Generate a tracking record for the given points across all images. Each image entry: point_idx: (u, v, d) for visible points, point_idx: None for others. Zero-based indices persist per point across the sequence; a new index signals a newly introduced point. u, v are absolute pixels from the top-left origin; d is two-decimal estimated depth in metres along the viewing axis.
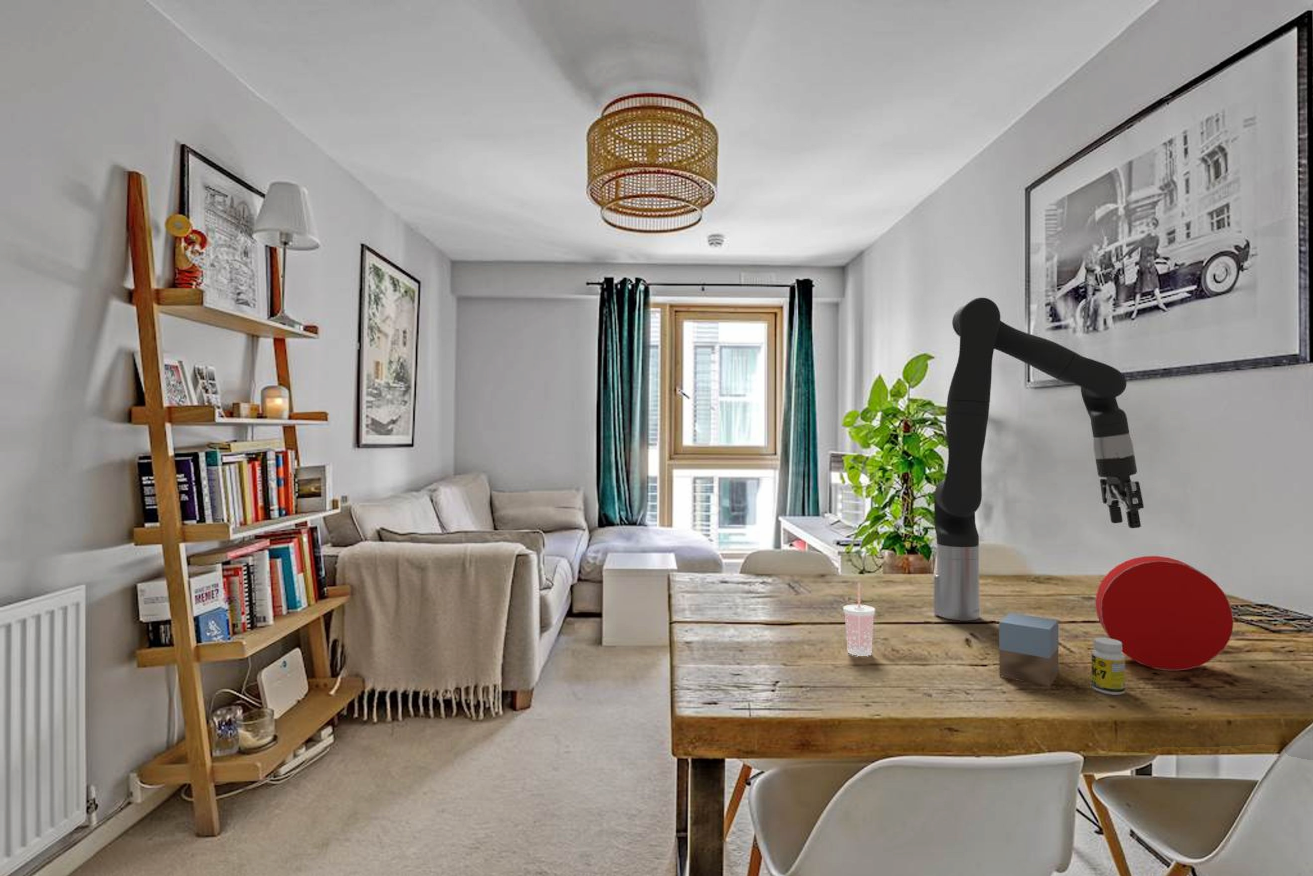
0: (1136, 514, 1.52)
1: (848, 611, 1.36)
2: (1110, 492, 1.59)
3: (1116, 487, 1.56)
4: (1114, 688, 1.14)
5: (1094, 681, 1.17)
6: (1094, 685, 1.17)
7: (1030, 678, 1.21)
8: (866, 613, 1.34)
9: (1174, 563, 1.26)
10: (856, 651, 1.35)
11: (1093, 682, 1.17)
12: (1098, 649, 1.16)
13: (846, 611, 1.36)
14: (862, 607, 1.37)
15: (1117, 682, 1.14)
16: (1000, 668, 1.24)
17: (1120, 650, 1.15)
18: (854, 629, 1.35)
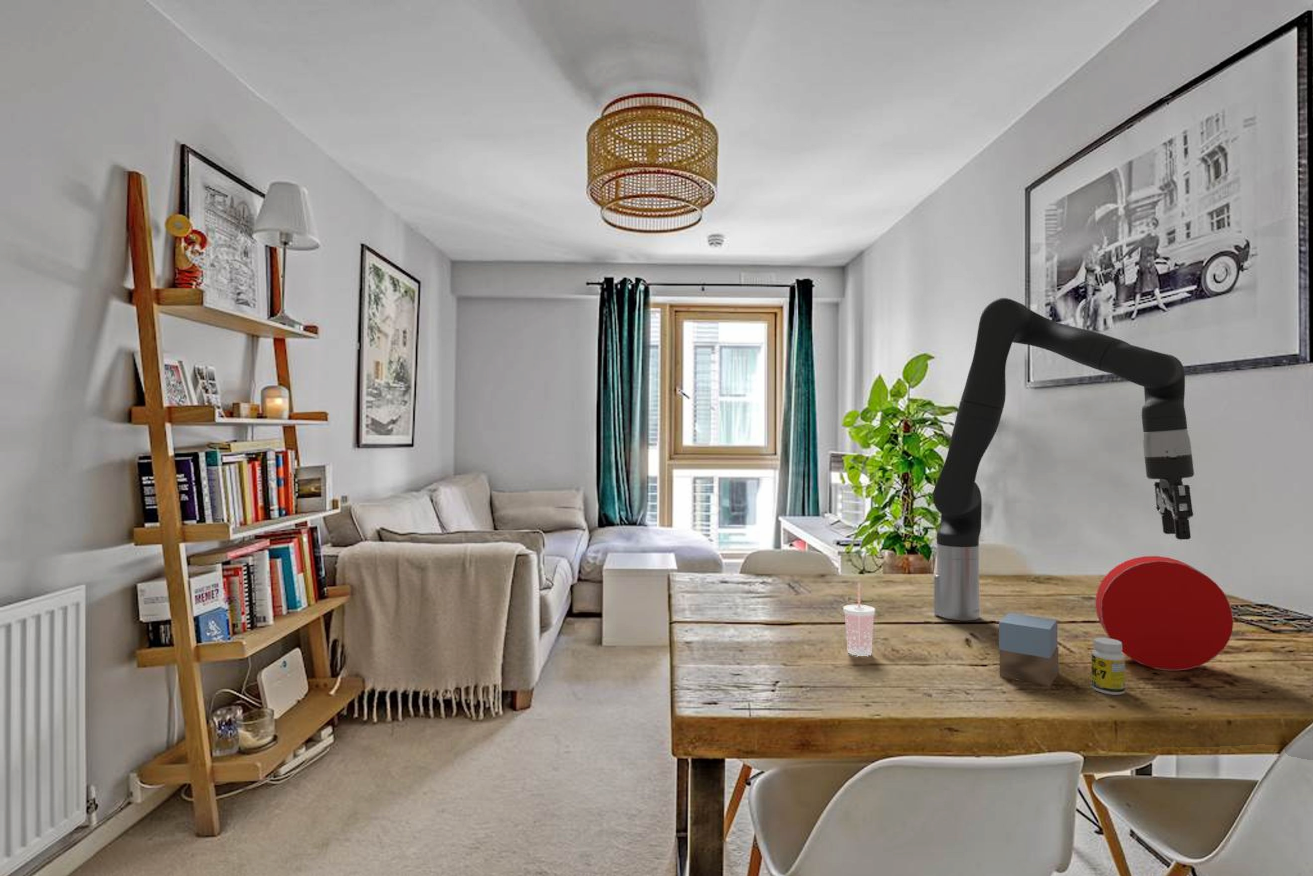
0: (1185, 523, 1.30)
1: (848, 611, 1.36)
2: (1161, 497, 1.37)
3: (1165, 490, 1.34)
4: (1114, 688, 1.14)
5: (1094, 681, 1.17)
6: (1094, 685, 1.17)
7: (1031, 678, 1.21)
8: (866, 613, 1.34)
9: (1174, 563, 1.26)
10: (856, 651, 1.35)
11: (1093, 682, 1.17)
12: (1098, 649, 1.16)
13: (846, 611, 1.36)
14: (862, 607, 1.37)
15: (1117, 682, 1.14)
16: (1000, 668, 1.24)
17: (1120, 650, 1.15)
18: (854, 629, 1.35)
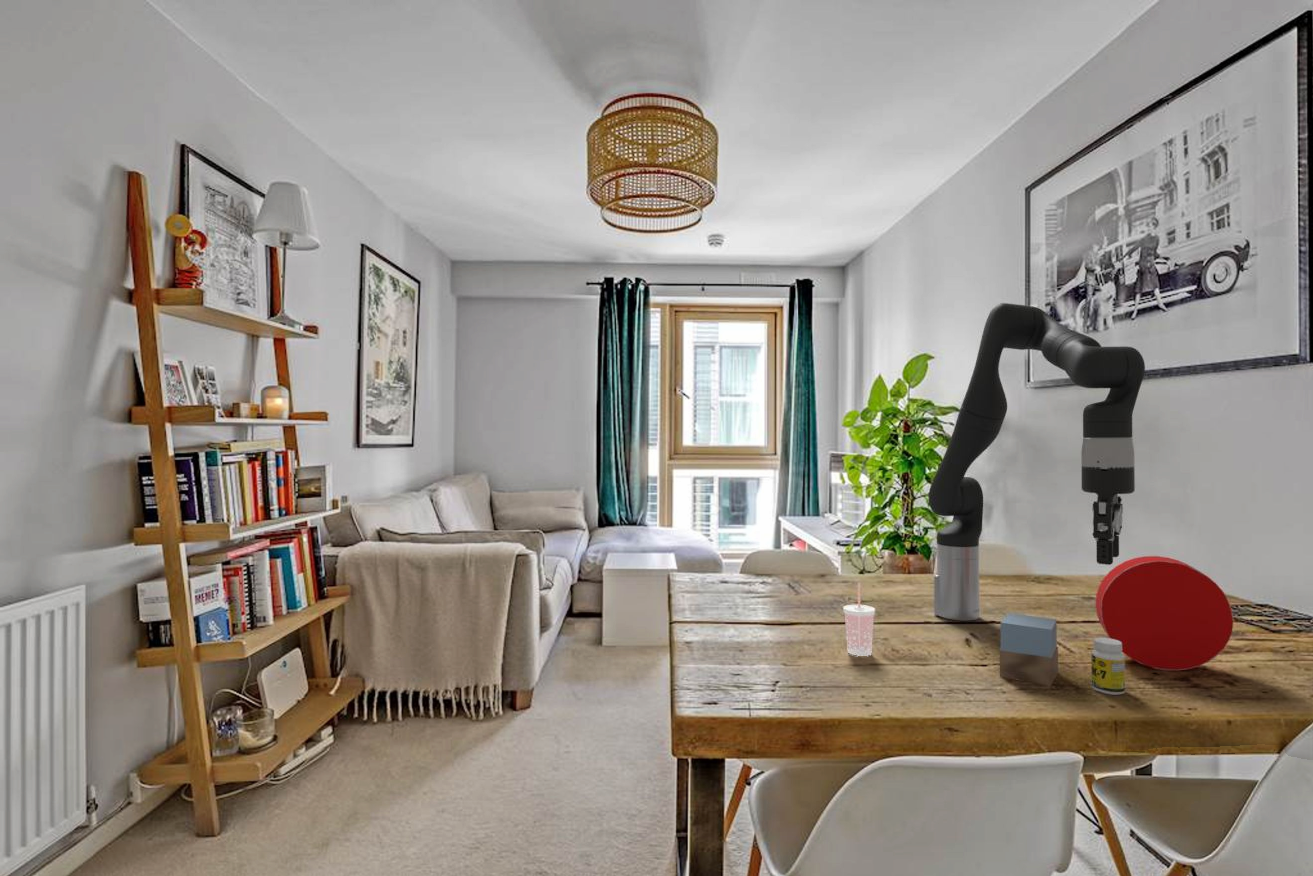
0: (1106, 546, 1.12)
1: (848, 611, 1.36)
2: None
3: None
4: (1114, 688, 1.14)
5: (1094, 681, 1.17)
6: (1094, 685, 1.17)
7: (1031, 678, 1.21)
8: (866, 613, 1.34)
9: (1174, 563, 1.26)
10: (856, 651, 1.35)
11: (1093, 682, 1.17)
12: (1098, 649, 1.16)
13: (846, 611, 1.36)
14: (862, 607, 1.37)
15: (1117, 682, 1.14)
16: (1000, 668, 1.24)
17: (1120, 650, 1.15)
18: (854, 629, 1.35)
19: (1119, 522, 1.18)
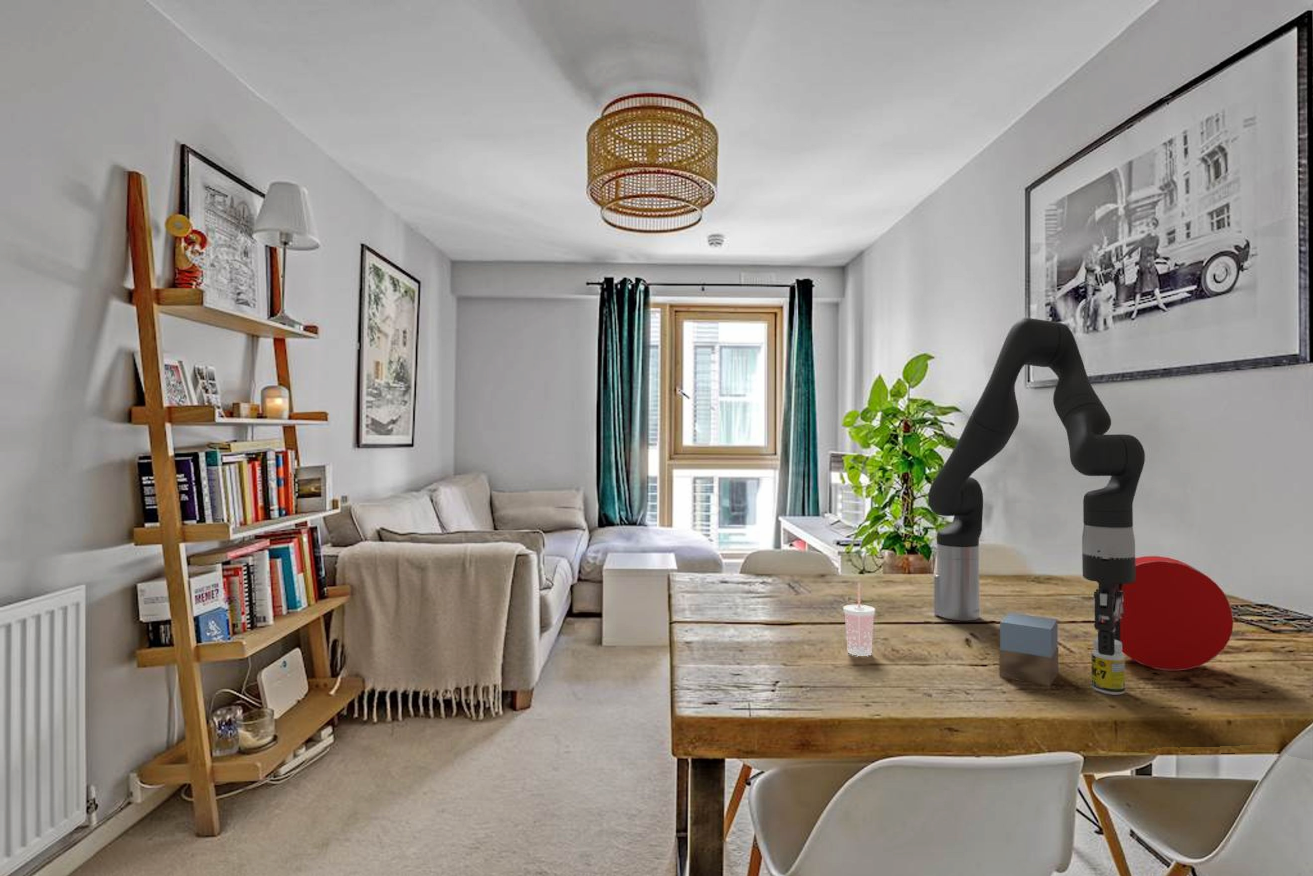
0: (1107, 637, 1.12)
1: (848, 611, 1.36)
2: None
3: None
4: (1114, 688, 1.14)
5: (1094, 681, 1.17)
6: (1094, 685, 1.17)
7: (1030, 678, 1.21)
8: (866, 613, 1.34)
9: (1174, 563, 1.26)
10: (856, 651, 1.35)
11: (1093, 682, 1.17)
12: None
13: (846, 611, 1.36)
14: (862, 607, 1.37)
15: (1117, 682, 1.14)
16: (1000, 668, 1.24)
17: (1120, 650, 1.15)
18: (854, 629, 1.35)
19: (1120, 609, 1.18)
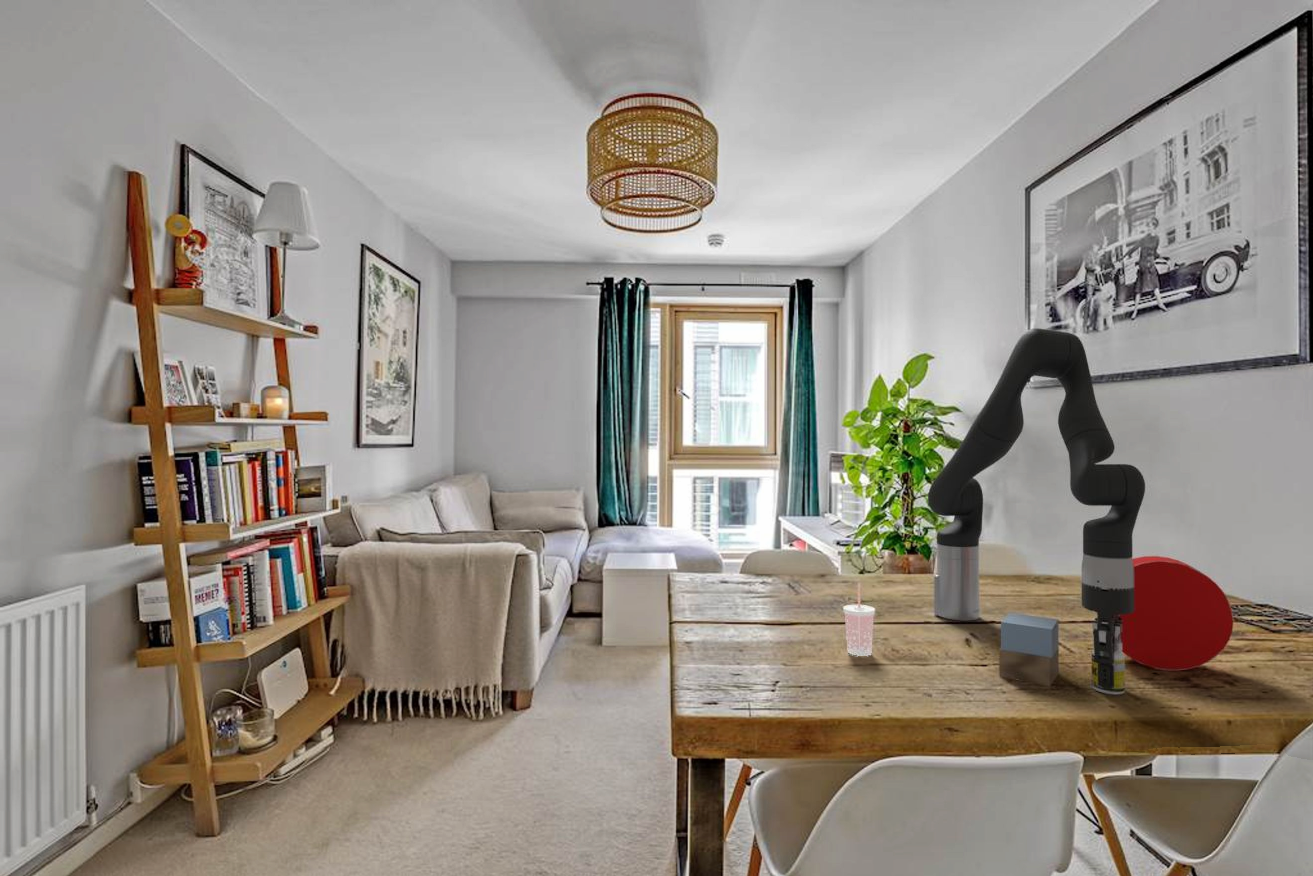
0: (1107, 670, 1.14)
1: (848, 611, 1.36)
2: None
3: (1096, 625, 1.16)
4: (1114, 688, 1.14)
5: (1094, 680, 1.17)
6: (1094, 685, 1.17)
7: (1030, 678, 1.21)
8: (866, 613, 1.34)
9: (1174, 563, 1.26)
10: (856, 651, 1.35)
11: (1093, 682, 1.17)
12: None
13: (846, 611, 1.36)
14: (862, 607, 1.37)
15: (1117, 681, 1.14)
16: (1000, 668, 1.24)
17: (1120, 650, 1.15)
18: (854, 629, 1.35)
19: (1118, 641, 1.17)
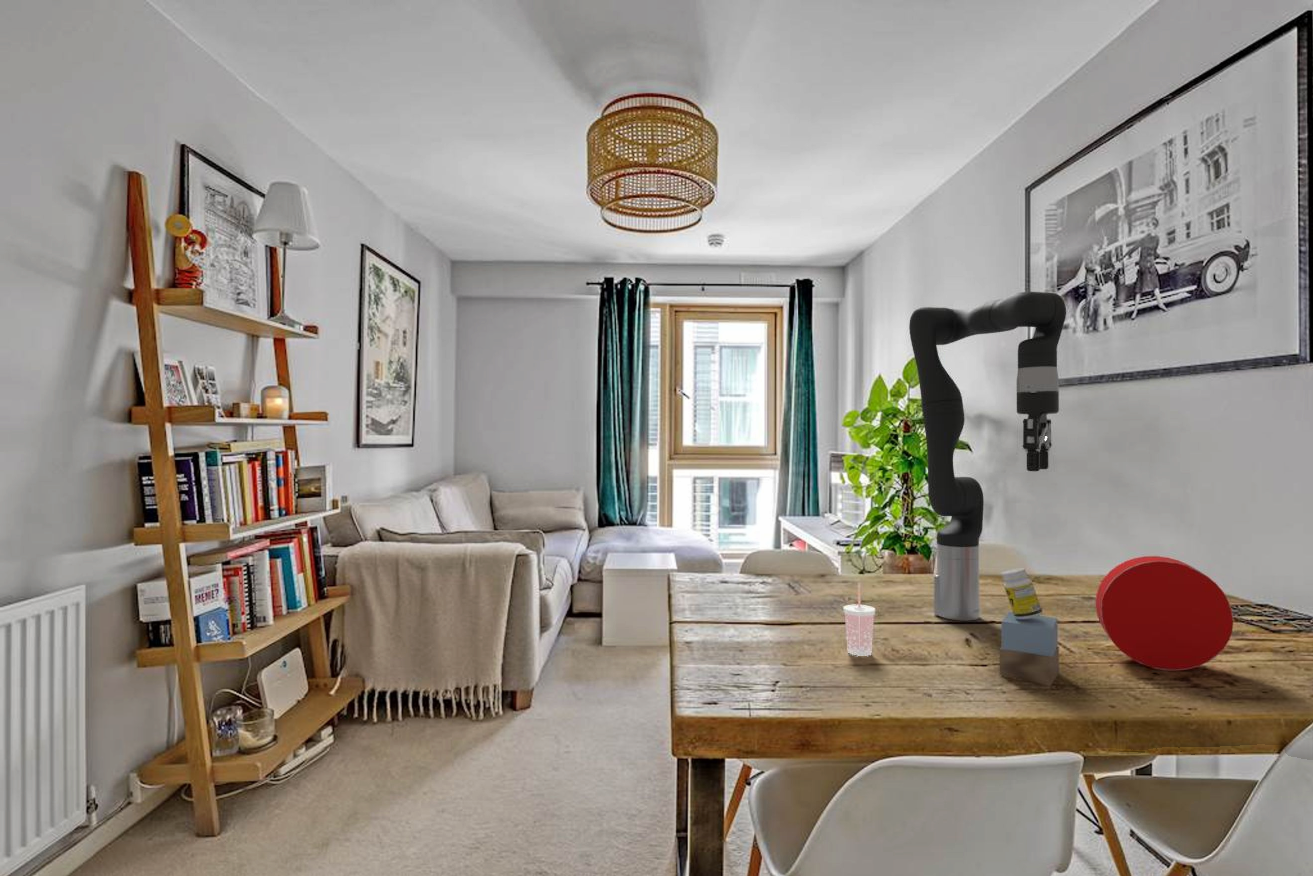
0: (1034, 456, 1.36)
1: (848, 611, 1.36)
2: None
3: None
4: (1023, 613, 1.23)
5: (1012, 609, 1.26)
6: (1013, 613, 1.26)
7: (1030, 677, 1.21)
8: (866, 613, 1.34)
9: (1174, 563, 1.26)
10: (856, 651, 1.35)
11: None
12: (1004, 579, 1.26)
13: (846, 611, 1.36)
14: (862, 607, 1.37)
15: (1024, 606, 1.23)
16: (1000, 667, 1.24)
17: (1020, 577, 1.24)
18: (854, 629, 1.35)
19: (1047, 439, 1.41)
